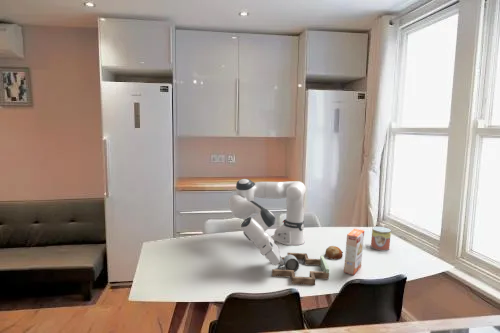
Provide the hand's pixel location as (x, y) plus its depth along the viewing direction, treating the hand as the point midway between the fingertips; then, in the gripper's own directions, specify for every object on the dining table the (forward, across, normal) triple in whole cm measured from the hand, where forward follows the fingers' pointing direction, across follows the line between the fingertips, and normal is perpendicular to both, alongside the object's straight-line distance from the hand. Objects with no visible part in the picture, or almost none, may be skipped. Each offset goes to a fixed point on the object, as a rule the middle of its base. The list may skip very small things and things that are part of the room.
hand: (283, 263), depth 186 cm
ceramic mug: (+5, -1, -1) cm, 5 cm away
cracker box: (+29, -6, +25) cm, 39 cm away
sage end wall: (+18, -2, +13) cm, 22 cm away
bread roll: (+25, -24, +20) cm, 40 cm away
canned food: (+48, -43, +44) cm, 78 cm away
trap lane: (+9, -2, +4) cm, 10 cm away
